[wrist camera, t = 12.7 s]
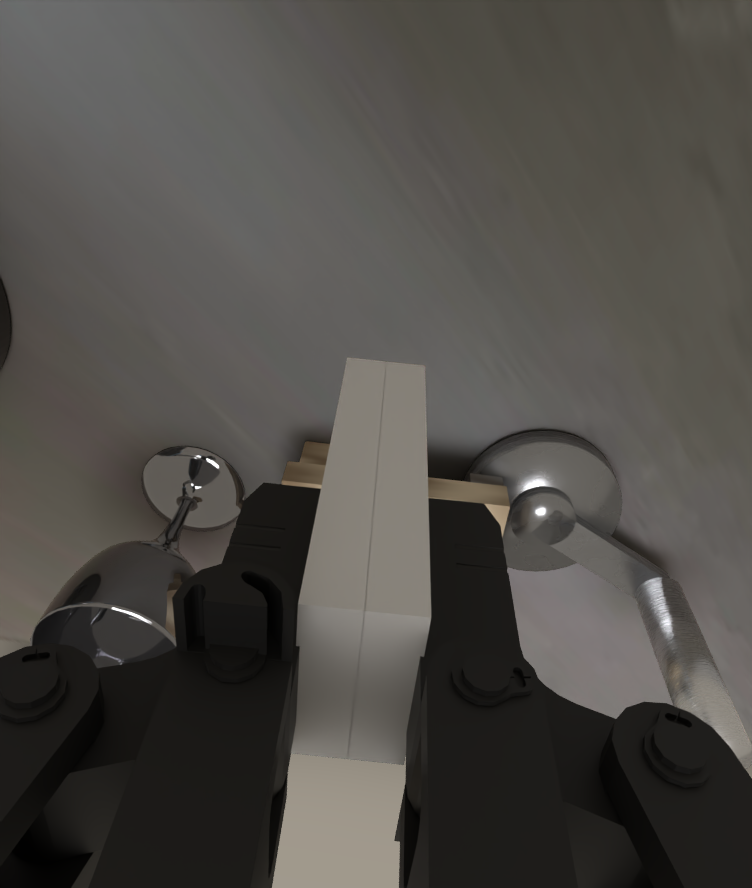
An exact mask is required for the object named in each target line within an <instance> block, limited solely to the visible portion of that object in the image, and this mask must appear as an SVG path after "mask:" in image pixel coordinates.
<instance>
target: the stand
mask: <svg viewBox="0 0 752 888" xmlns="http://www.w3.org/2000/svg"><path fill="white" fill-rule="evenodd" d="M329 447H330V444H325V443H317V442H308V441H305V444H304V448H303V451H302V455H301V458H300V462H291V461H288V462H287V465H286V468H285V472H284V475H283V478H282V485H290V486H300V487H310V488H319V489H321V487H322V482H323V477H324V472H325V467H326V462H327V457H328V452H329ZM428 498H436V499H445V500H455V501H465V502H474V503H484V504H485V505H486V507H487V508H488V509H489V511H490V512H491V513H492V515H493V516H494V517H495V519H496V520H497V521H498V523H499V524H500V526H501V532H502V537H503V533H504V529H505V525H506V521H507V517H508V513H509V509H510V503H509V497H508V492H507V486H504V484H503V478H502V477H498V476H489V475H480V474H472V473H470V476H469V480H468V482H465V481H456V480H447V479H439V478H430V477H428Z"/></svg>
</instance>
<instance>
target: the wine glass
mask: <svg viewBox="0 0 752 888" xmlns="http://www.w3.org/2000/svg"><path fill="white" fill-rule="evenodd" d="M141 480H142V489H143V493H144V496H145V498H146V500H147V502H148V503H149V505H150V506H151V508H152V509H153V510H154V511H155V512H156V513H157V514H158V515H159V516H160V517H162V518H163V519H164V520H166V521H167V522H169V524H168V526H167V527H166V528H165V530H164V531H163V532H162V533H161V534H160V535H159V537H157V538H156V539H154V540H151V541H130V542H124V543H120V544H116V545H113V546H110V547H108V548H106V549H105V550H103V551H101V552H100V553H98V554H97V555H95V556H94V557H93V558H91V559H90V560H89V561H88V562H87V563H86V564H84V565H83V566H82V567H81V568H80V569H79V570H78V571H76V573H75V574H74V575H73V576H72V577H71V578H70V579H69V580H68V581H67V582H66V583H65V585H64V586H63V587H62V588H61V590H60V591H59V592H58V594H57V595H56V597H55V598H54V599H53V601H52V602H51V604H50V605H49V606H48V608H47V609H46V610H45V612H44V614H43V615H42V617H41V618H40V620H39V622H38V623H37V625H36V627H35V629H34V630H33V633H32V636H31V638H30V646H35V645H41V644H48V643H54V644H61V645H68V646H74V647H75V648H77V649H79V650H81V651H82V652H84V653H86V654H88V655H89V656H90V657H91V659H92V660H93V662H94V664H95V665H96V667H97V668H102V667H108V666H114V665H120V664H126V663H132V662H138V661H142V660H146V659H150V658H154V657H157V656H159V655H161V654H164V653H166V652H168V651H170V650H172V649H174V648H175V647H176V637H175V625H174V614H173V602H172V597H173V596H174V594H175V593H176V591H177V590H178V589H179V587H180V586H181V584H182V583H183V582H184V581H185V580H187V579H188V578H190V577H191V576H193V575H194V574H196V572H195V570H194V569H193V567H192V566H191V564H190V563H189V562H188V561H187V560H186V559H185V558H184V557H183V556H182V554H181V553H180V551H179V541H180V536H181V533H182V529H186V530H191V531H203V532H206V531H213V530H217V529H220V528H223V527H225V526H227V525H229V524H230V523H231V522H233V521H234V520H235V519H236V518H237V517H238V516H239V514H240V511H241V508H242V505H243V502H244V500H245V491H244V486H243V484H242V481H241V479H240V477H239V475H238V474H237V472H236V471H235V470H234V469H233V467H232V466H231V465H230V464H229V463H227V462H226V461H225V460H224V459H222V458H221V457H219V456H218V455H216V454H214V453H212V452H210V451H207V450H204V449H201V448H197V447H190V446H178V447H171V448H168V449H165V450H162V451H161V452H159V453H157V454H155V455H154V456H153V457H152V458H151V459H150V460H149V461H148V463H147V464H146V465H145V468H144V470H143V473H142V479H141Z"/></svg>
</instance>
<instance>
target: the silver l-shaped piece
mask: <svg viewBox="0 0 752 888" xmlns="http://www.w3.org/2000/svg"><path fill="white" fill-rule="evenodd" d="M470 473H472V474H480V475H489V476H498V477H502V478H503V484H504V486H507V492H508V497H509V503H510V509H509V513H508V517H507V521H506V525H505V529H504V533H503V537H502V538H503V544H504V553H505V557H506V563H507V567H509V568H513V569H517V570H524V571H548V570H555V569H560V568H564V567H567V566H570V565H573V564H575V563H579V564H580V565H582V566H583V567H585V568H587V569H588V570H590V571H591V572H593V573H595V574H596V575H598V576H600V577H601V578H603V579H604V580H606V581H608V582H609V583H611V584H612V585H614V586H616V587H617V588H619V589H620V590H622V591H624V592H625V593H627V594H628V595H630V596H632V597H633V598H635V600H636V603H637V605H638V608H639V611H640V614H641V617H642V619H643V622H644V625H645V628H646V631H647V633H648V636H649V639H650V642H651V645H652V647H653V650H654V653H655V656H656V659H657V661H658V664H659V667H660V670H661V673H662V675H663V678H664V681H665V684H666V686H667V689H668V692H669V695H670V698H671V700H672V703H673V706H675V707H677V708H680V709H683V710H686V711H688V712H691V713H692V714H694V715H695V716H697V717H698V718H699V719H701V720H702V721H704V722H705V723H707V724H708V725H710V726H711V727H713V728H714V730H715V731H716V732H717V733H718V734H719V735H720V736H721V737H722V739H723V740H724V741H725V742H726V743H727V744H728V745H729V746H730V747H731V749H732V750H733V752H734V753H735V755H736V756H737V758H738V759H739V761H740V762H741V764H742V765H743V767H744V768H745V769H747V768H748V767H750V766H751V765H752V745H751V742H750V740H749V738H748V736H747V733H746V731H745V729H744V727H743V724H742V722H741V720H740V718H739V715H738V713H737V711H736V709H735V706H734V704H733V702H732V700H731V698H730V695H729V693H728V691H727V689H726V686H725V684H724V682H723V680H722V677H721V675H720V673H719V671H718V668H717V666H716V664H715V662H714V659H713V657H712V655H711V653H710V650H709V648H708V646H707V644H706V641H705V639H704V637H703V635H702V632H701V630H700V628H699V626H698V624H697V621H696V619H695V617H694V615H693V612H692V610H691V608H690V606H689V603H688V601H687V599H686V597H685V594H684V592H683V590H682V588H681V586H680V584H679V583H678V582H677V581H675V580H673V579H671V578H670V577H669V575H668V573H667V572H665V571H664V570H662V569H661V568H659V567H657V566H656V565H654V564H653V563H651V562H650V561H648V560H647V559H645V558H644V557H642V556H640V555H639V554H637V553H636V552H634V551H633V550H631V549H630V548H628V547H626V546H625V545H623V544H622V543H620V542H619V541H617V540H616V539H614V538H613V537H611V535H612V534H613V532H614V530H615V529H616V527H617V524H618V522H619V520H620V516H621V512H622V496H621V491H620V488H619V485H618V482H617V480H616V478H615V475H614V473H613V470H612V468H611V466H610V464H609V462H608V461H607V459H606V458H605V456H604V455H603V454H602V453H601V452H600V451H599V450H598V449H597V448H595V447H594V446H593V445H592V444H590V443H588V442H586V441H585V440H583V439H581V438H578V437H576V436H574V435H570V434H566V433H562V432H556V431H532V432H527V433H521V434H518V435H515V436H511V437H509V438H507V439H504V440H502V441H500V442H498V443H496V444H495V445H493V446H491V447H490V448H489V449H487V450H486V451H485V452H484V453H483V454H481V455H480V456H479V457H478V458H477V460H476V461H475V462H474V463H473V464H472V466H471V467H470V469H469V471H468V472H467V474H466V477H465V479H464V481H465V482H468V480H469V476H470Z"/></svg>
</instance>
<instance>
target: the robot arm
mask: <svg viewBox="0 0 752 888" xmlns="http://www.w3.org/2000/svg"><path fill="white" fill-rule="evenodd" d="M9 342H10V315H9V308H8V304H7V299H6V296H5V293H4V289H3V287H2V284H1V281H0V369H1V367H2V365H3V363H4V361H5V358H6V355H7V352H8V348H9ZM172 602H173V614H174V625H175V637H176V647H175V648H174V649H172V650H170V651H168V652H166V653H164V654H161V655H159V656H157V657H154V658H150V659H146V660H142V661H138V662H132V663H126V664H120V665H114V666H108V667H102V668H97V667H96V665H95V664H94V662H93V660H92V659H91V657H90V656H89V655H88V654H86V653H84V652H82V651H81V650H79V649H77V648H75V647H74V646H68V645H61V644H54V643H48V644H41V645H35V646H28V647H24V648H22V649H19V650H17V651H15V652H12V653H10V654H8V655H5V656H3V657H1V658H0V888H272V883H273V877H274V871H275V864H276V858H277V852H278V846H279V839H280V834H281V828H282V821H283V815H284V809H285V803H286V796H287V775H288V774H287V772H288V766H289V761H290V755H291V753H293V754H302V755H312V756H322V757H332V758H342V759H351V760H361V761H372V762H381V763H391V764H401V765H404V761H405V756H406V784H405V789H404V794H403V799H402V804H401V810H400V814H399V820H398V825H397V830H396V835H395V841H400V869H399V888H752V778H751V777H750V776H749V774H748V773H747V771H746V770H745V768H744V767H743V765H742V764H741V762H740V761H739V759H738V758H737V756H736V755H735V753H734V752H733V750H732V749H731V747H730V746H729V745H728V744H727V743H726V742H725V741H724V740H723V739H722V737H721V736H720V735H719V734H718V733H717V732H716V731H715V730H714V728H713V727H711V726H710V725H708V724H707V723H705V722H704V721H702V720H701V719H699V718H698V717H697V716H695V715H694V714H692V713H691V712H688V711H686V710H683V709H680V708H677V707H675V706H672V705H669V704H667V703H653V702H642V703H639V704H636V705H633V706H630V707H627V708H626V709H625V710H624V711H623V712H622V713H621V714H620V716H619V717H618V718H617V719H614V718H612V717H609V716H606V715H604V714H601V713H599V712H596V711H593V710H591V709H588V708H585V707H583V706H580V705H578V704H575V703H573V702H571V701H569V700H567V699H565V698H563V697H561V696H559V695H558V694H556V693H555V692H553V691H552V690H551V689H549V688H548V687H546V686H545V685H544V684H543V683H542V682H541V681H540V680H539V679H538V677H537V675H536V672H535V670H534V668H533V667H532V666H531V665H530V664H529V663H528V662H527V661H526V660H525V659H524V657H523V654H522V650H521V647H520V642H519V636H518V630H517V624H516V618H515V612H514V605H513V599H512V593H511V587H510V581H509V575H508V573H507V563H506V557H505V553H504V544H503V538H502V532H501V526H500V524H499V523H498V521H497V520H496V519H495V517H494V516H493V515H492V513H491V512H490V511H489V509H488V508H487V507H486V505H485V504H484V503H474V502H465V501H455V500H445V499H436V498H428V463H427V423H426V383H425V366H424V365H415V364H406V363H396V362H387V361H377V360H368V359H358V358H349V357H347V362H346V367H345V372H344V377H343V382H342V387H341V392H340V397H339V402H338V407H337V412H336V417H335V422H334V427H333V432H332V437H331V442H330V447H329V452H328V457H327V462H326V467H325V472H324V477H323V482H322V487H321V489H319V488H310V487H300V486H290V485H281V484H271V483H263V484H262V485H261V486H260V487H259V488H257V489H256V490H255V491H254V492H253V493H252V494H251V495H250V496H249V497H248V498H246V499H245V500H244V502H243V505H242V508H241V511H240V514H239V516H238V519H237V522H236V528H234V531H233V533H232V536H231V539H230V543H229V547H228V548H227V550H226V553H225V556H224V559H223V562H222V564H219V565H216V566H213V567H209V568H206V569H203V570H200V571H199V572H197V573H196V574H194V575H193V576H191V577H190V578H188V579H187V580H185V581H184V582H183V583H182V584H181V586H180V587H179V589H178V590H177V591H176V593H175V594H174V596H173V597H172Z"/></svg>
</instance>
